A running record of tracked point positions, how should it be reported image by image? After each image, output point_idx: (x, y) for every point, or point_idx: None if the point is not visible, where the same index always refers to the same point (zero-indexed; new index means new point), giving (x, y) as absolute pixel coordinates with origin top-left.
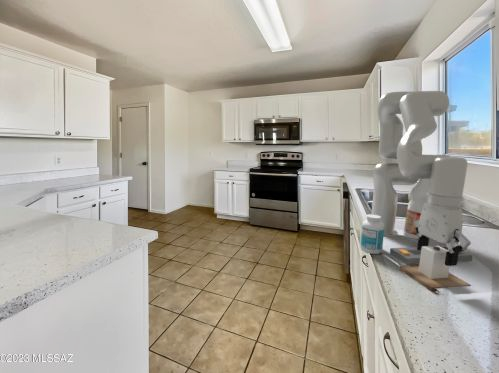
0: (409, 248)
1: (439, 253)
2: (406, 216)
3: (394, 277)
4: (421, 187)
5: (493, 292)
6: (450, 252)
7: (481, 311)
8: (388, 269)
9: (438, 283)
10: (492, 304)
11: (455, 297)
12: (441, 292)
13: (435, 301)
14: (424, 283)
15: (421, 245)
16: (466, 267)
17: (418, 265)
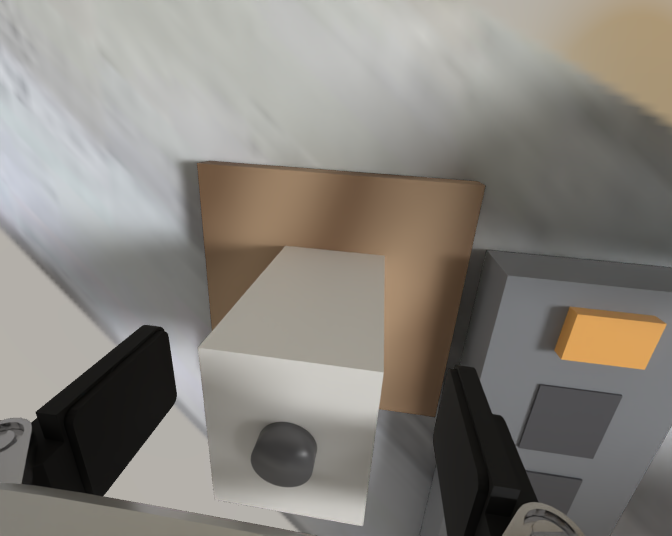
0: (641, 435)
1: (208, 394)
2: None
3: (389, 39)
4: None
5: (197, 425)
6: (21, 423)
7: (66, 253)
8: (504, 85)
9: (234, 244)
10: (118, 342)
11: (159, 242)
12: (200, 213)
13: (120, 98)
14: (251, 167)
15: (455, 422)
16: (388, 521)
17: (445, 317)
